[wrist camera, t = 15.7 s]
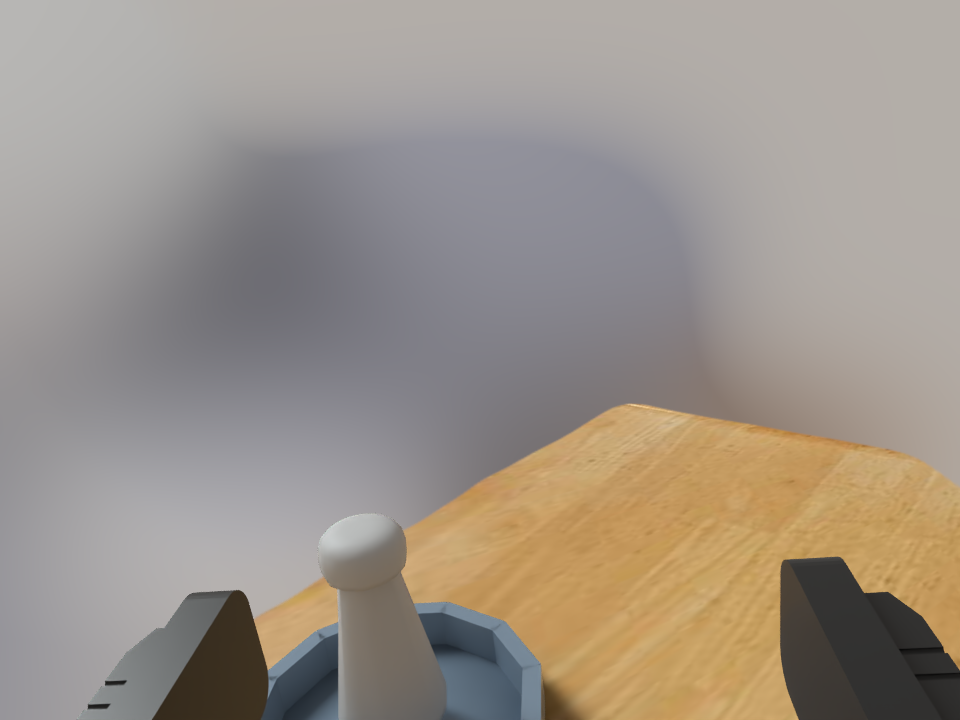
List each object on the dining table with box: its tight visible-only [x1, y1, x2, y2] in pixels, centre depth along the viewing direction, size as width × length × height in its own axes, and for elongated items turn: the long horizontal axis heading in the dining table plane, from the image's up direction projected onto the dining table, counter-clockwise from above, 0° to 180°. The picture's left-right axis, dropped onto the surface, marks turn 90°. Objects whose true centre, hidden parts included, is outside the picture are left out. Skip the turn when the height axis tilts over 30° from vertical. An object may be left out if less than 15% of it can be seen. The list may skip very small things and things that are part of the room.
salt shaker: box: [318, 513, 447, 720], centre depth 39 cm, size 6×6×13 cm
